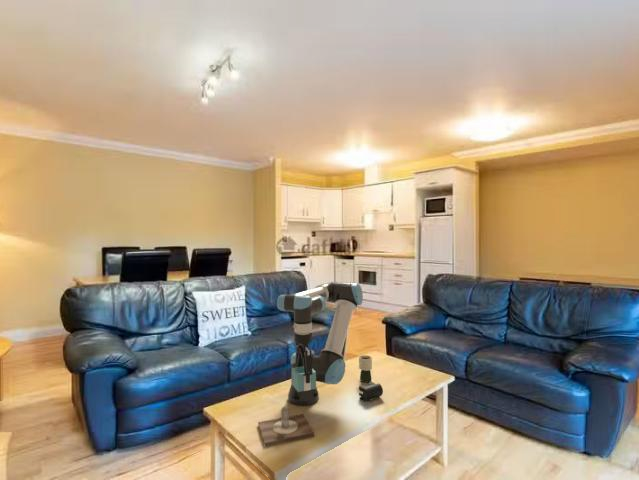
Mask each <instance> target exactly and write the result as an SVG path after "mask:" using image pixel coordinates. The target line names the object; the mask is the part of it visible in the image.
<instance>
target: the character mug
mask: <svg viewBox="0 0 639 480" xmlns="http://www.w3.org/2000/svg"><path fill="white" fill-rule="evenodd" d="M358 364H359V365H358V368H359V370H360V375H359V380H360V381H361V382H367V383H370V382H372V374H371V370H372V369H373V358H372V356H371V355H366V354H364V355H360V356H359V357H358Z"/></svg>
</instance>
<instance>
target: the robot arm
mask: <svg viewBox="0 0 639 480" xmlns="http://www.w3.org/2000/svg"><path fill="white" fill-rule="evenodd" d="M363 298H364V297H363V289H362V286H361V285H360V283H356V282H343V281H342V282H340V281H339V282H338V281H331V282H330V281H329V282H327V283H323V284H319V285H316V286H314V288H311V289H307V290H303V291H299V292H296V293H291V294H280V295H279V296H278V297H277V300H276V307H277V309H278V310H280V311H282V312H291V313H292V312H293V319H294V320H293V324H294V325H292V328H293V331H294V333H293V335H294V337H293V339H294V342H295V352H294V353H292V355H291V357H290V374H291V375H290V377H291V378H290V379H291V382H290V383H291V384H290V388H289V391H288V393H287V399H288V402H289V403H291V404H292V405H295V406H302V407H303V406H310V405H312V404H316V403H317V402H318V401H319V398H320V397H319V390H318V387H317V386H316V389H312V390H311V375H312V374H313V372H312V368H313V369H314V370H315V371H316V382H318V383H324V384H327V385H338V384H339V383H340V382H341V381H342V380H343V378H344V376H345V373H346V362H345V360H344V356H343V354H342V353H343V348H344V346H345V341H346V337H347V334H348V330H349V327H350V326H349V325H350V323H351V318H352V315H353V312H354V311H356V310H357V306H361V305H362V304H363V300H364V299H363ZM326 303H331V304H335V306H336V308H335V312H334V315H333V319H332V322H331V325H330V328H329V331H328V332H329V333H328V335H327V336H328V337H327V338H326V343H325V347H324V348H323V349H321V350H320V352H319V355H316V354H315V351H314V350H312V349H310V345H309V344H310V343H311V342H313V333H312V331H313V321H312V319H313V317H312V316H314V315H316V314H319V313H321V312H323V311H324V310H325V308H326V305H327V304H326ZM303 366H304V373H305V374H303V376H304V391H300V392H298V391H297V390H296V389H295V387H294V386H293V385H292V368H297V367H303Z"/></svg>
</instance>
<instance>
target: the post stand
mask: <svg viewBox="0 0 639 480" xmlns="http://www.w3.org/2000/svg"><path fill="white" fill-rule="evenodd" d="M280 413H281V414H280V415H281V417H279V418H278V417H277V418H273V419H269V420H268V419H267V420H262V421H258V422H257V423H258V424H257V425H259V426H258V429H259V432H261V433H260V435H262V436H261V438H262V442H264V443H263V445H265V446H266V447H270V446H274V445H279V444H283V443H289V442H294V441H299V440H303V439H307V438H312V437H315V431H314V430H313V428H312V427H311V425H310V423H309V421H308V419H307V418H306V416H305V415H304V413H300V414H295V415H289V414H290V411H289V407H287V406H283V407H281V412H280ZM265 446H264V447H265Z"/></svg>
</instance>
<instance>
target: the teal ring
mask: <svg viewBox="0 0 639 480" xmlns="http://www.w3.org/2000/svg"><path fill="white" fill-rule="evenodd" d="M312 372H313V374H312V375H311V390H312V389H316V387H317V381H316V371H315V370H314V369H313V368H312ZM303 374H305V373H304V366H303V367H297V368H292V385H293V386H294V387H295V389H296V390H297V391H298V392H300V391H304V376H303Z"/></svg>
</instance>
